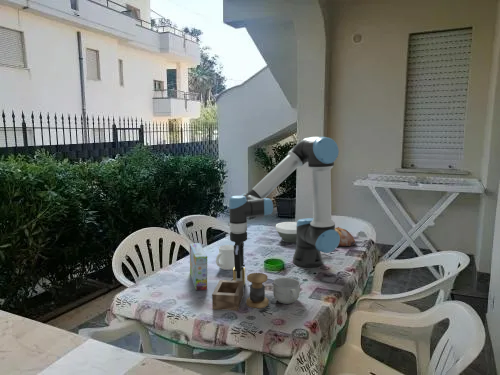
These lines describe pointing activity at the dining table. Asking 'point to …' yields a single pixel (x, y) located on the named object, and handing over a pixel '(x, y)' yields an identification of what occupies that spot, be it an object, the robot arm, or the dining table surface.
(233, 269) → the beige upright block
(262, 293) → the bobbin
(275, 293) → the teacup
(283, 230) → the bowl
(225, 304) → the open wooden crate
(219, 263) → the mug
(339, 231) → the bread
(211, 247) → the dining table surface
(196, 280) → the snack box
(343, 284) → the dining table surface
